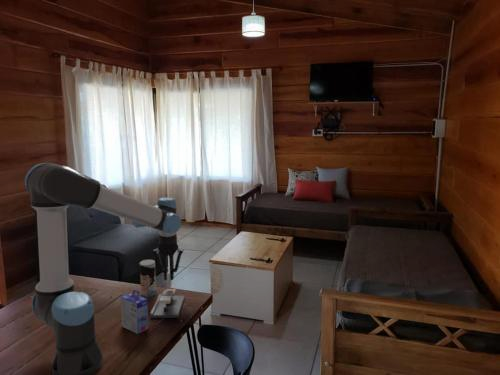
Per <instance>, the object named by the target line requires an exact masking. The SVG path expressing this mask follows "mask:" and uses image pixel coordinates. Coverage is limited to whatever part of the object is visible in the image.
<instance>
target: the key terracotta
mask: <svg viewBox="0 0 500 375" xmlns="http://www.w3.org/2000/svg"><path fill="white" fill-rule="evenodd" d="M166 290H173V296H176V293H177V292H176V291H177V290H176V288H166Z"/></svg>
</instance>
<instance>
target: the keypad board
mask: <svg viewBox="0 0 500 375" xmlns="http://www.w3.org/2000/svg"><path fill="white" fill-rule="evenodd" d="M162 294H163V293H159V294H158V296H157V298H156V300H155V303H154V305H153V307H152V309H151V311H150V315H149V317H150V318H151V319H172V318H174V319H177V318H179V317H180V316H179V315H180V313H181V310H182V307H183V304H184V301H185V295H174V296H172V298H171V301H170V303H169V304H159V300H160V298H161V296H162Z"/></svg>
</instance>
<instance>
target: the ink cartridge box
mask: <svg viewBox="0 0 500 375" xmlns="http://www.w3.org/2000/svg"><path fill="white" fill-rule="evenodd" d="M140 292H141V291H138V290H136V289H133V291H132V292H130V293H128V294H125V295H123V296H121V297H120V307H121V308H120V309H121V310H120V311H121V327H122V328H123V329H124V328H125V329H127V330H129V331H131V332H132V333H135V334H137V335H139V334H141V333H143V332H145V331H147V330H148V329H149V308H148V305H149V304H148V301H149V300H148V298H146V297H144V296H142V295H141V296H140ZM135 293H136V294H135Z"/></svg>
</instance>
